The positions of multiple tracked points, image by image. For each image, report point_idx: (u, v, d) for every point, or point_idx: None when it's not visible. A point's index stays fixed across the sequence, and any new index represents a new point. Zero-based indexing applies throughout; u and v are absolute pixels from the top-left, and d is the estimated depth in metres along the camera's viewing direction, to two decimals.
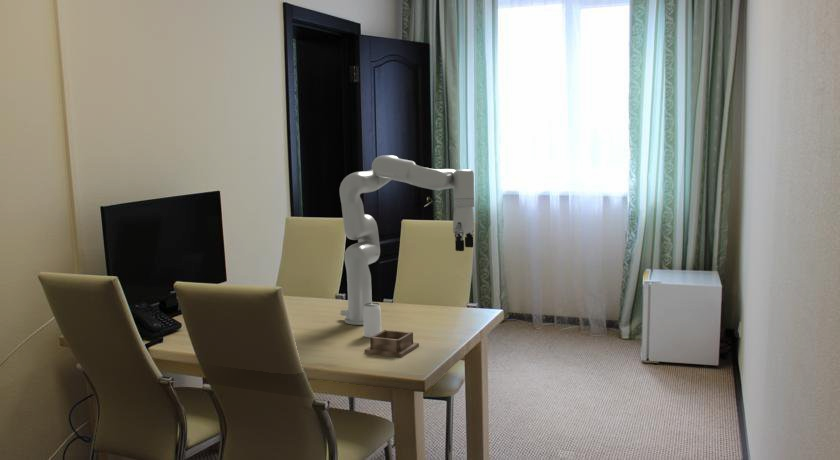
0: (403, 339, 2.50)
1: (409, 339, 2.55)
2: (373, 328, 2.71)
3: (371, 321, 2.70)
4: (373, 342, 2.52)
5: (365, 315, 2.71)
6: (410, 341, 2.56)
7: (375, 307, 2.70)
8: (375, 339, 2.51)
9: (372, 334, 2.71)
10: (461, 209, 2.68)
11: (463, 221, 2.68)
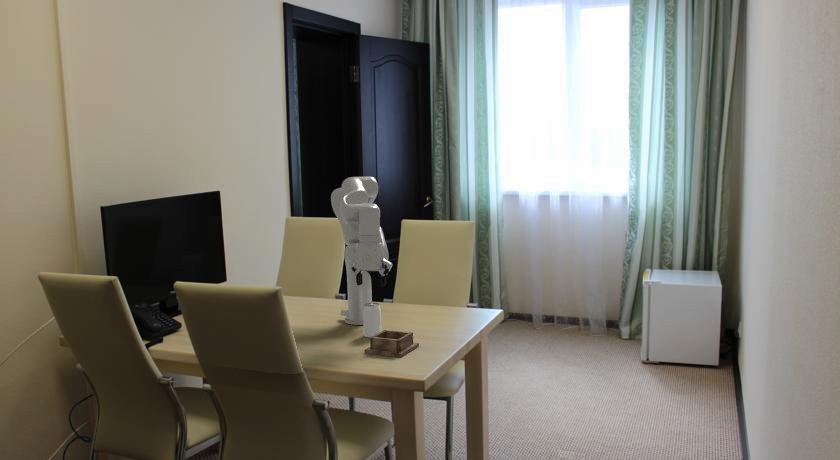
0: (403, 339, 2.50)
1: (409, 339, 2.55)
2: (373, 328, 2.71)
3: (371, 321, 2.70)
4: (373, 342, 2.52)
5: (365, 315, 2.71)
6: (410, 341, 2.56)
7: (375, 307, 2.70)
8: (375, 339, 2.51)
9: (372, 334, 2.71)
10: (381, 244, 2.69)
11: (384, 255, 2.70)
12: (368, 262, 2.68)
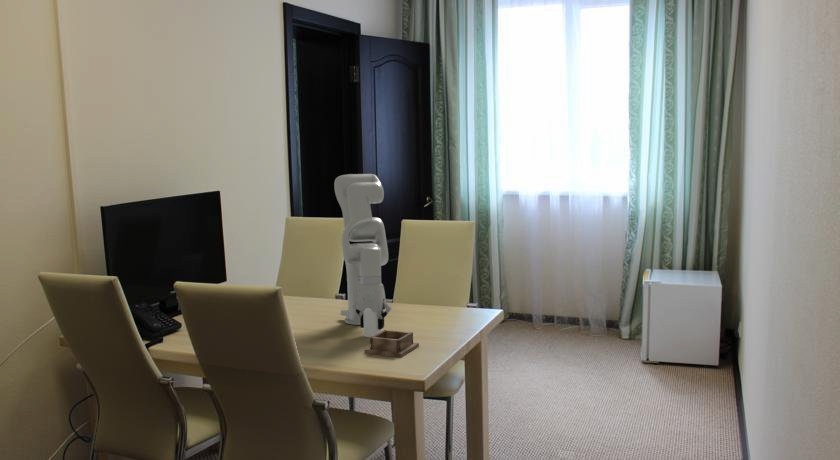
0: (403, 339, 2.50)
1: (409, 339, 2.55)
2: (373, 328, 2.70)
3: (371, 321, 2.70)
4: (373, 342, 2.52)
5: (365, 315, 2.71)
6: (410, 341, 2.56)
7: None
8: (375, 339, 2.51)
9: (372, 334, 2.71)
10: (382, 286, 2.71)
11: None
12: (369, 303, 2.70)
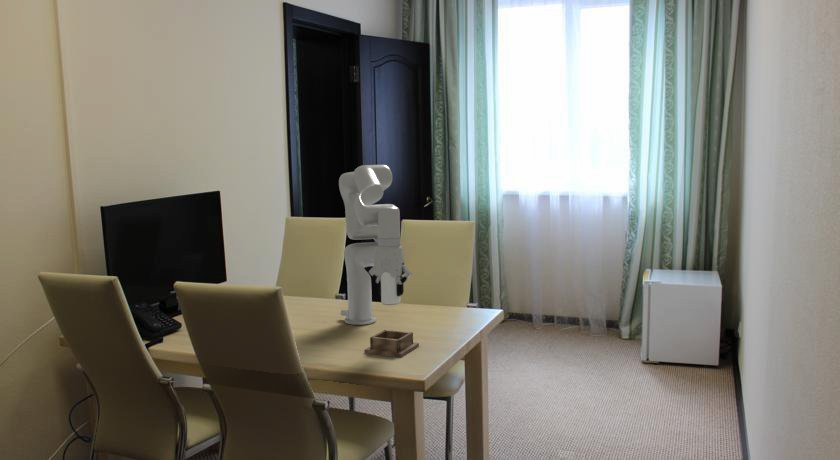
0: (403, 339, 2.50)
1: (409, 339, 2.55)
2: (392, 294, 2.50)
3: (389, 286, 2.49)
4: (373, 342, 2.52)
5: (383, 280, 2.50)
6: (410, 341, 2.56)
7: None
8: (375, 339, 2.51)
9: (390, 301, 2.50)
10: None
11: (404, 260, 2.51)
12: (388, 267, 2.49)
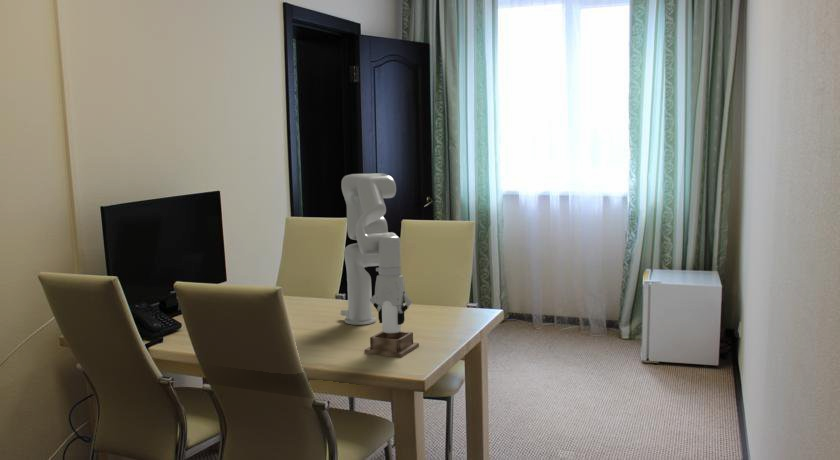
0: (403, 339, 2.50)
1: (409, 339, 2.55)
2: (393, 323, 2.51)
3: (390, 315, 2.50)
4: (373, 342, 2.52)
5: (384, 309, 2.51)
6: (410, 341, 2.56)
7: None
8: (375, 339, 2.51)
9: (391, 329, 2.51)
10: (402, 277, 2.51)
11: None
12: (389, 296, 2.50)
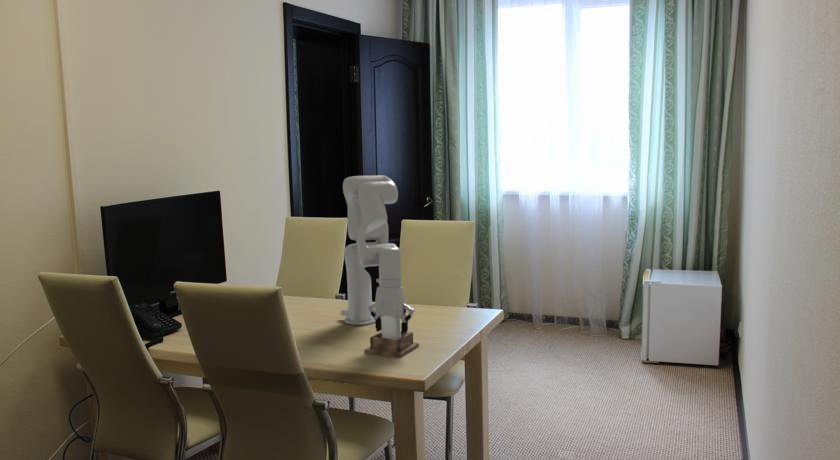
0: (403, 339, 2.50)
1: (409, 339, 2.55)
2: (393, 337, 2.52)
3: (390, 330, 2.51)
4: (373, 342, 2.52)
5: (384, 324, 2.52)
6: (410, 341, 2.56)
7: None
8: (375, 339, 2.51)
9: None
10: (403, 289, 2.52)
11: (405, 300, 2.53)
12: (389, 307, 2.51)
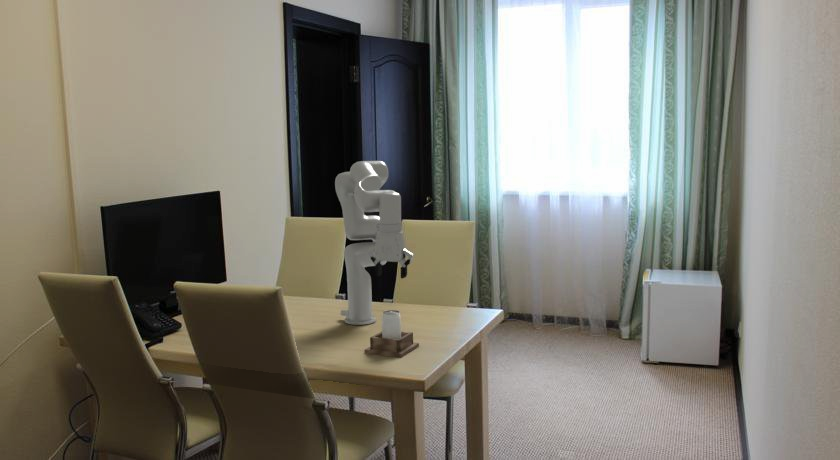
0: (403, 339, 2.50)
1: (409, 339, 2.55)
2: (393, 338, 2.52)
3: (390, 330, 2.51)
4: (373, 342, 2.52)
5: (384, 324, 2.52)
6: (410, 341, 2.56)
7: (395, 315, 2.52)
8: (375, 339, 2.51)
9: None
10: (402, 234, 2.55)
11: None
12: (388, 252, 2.54)
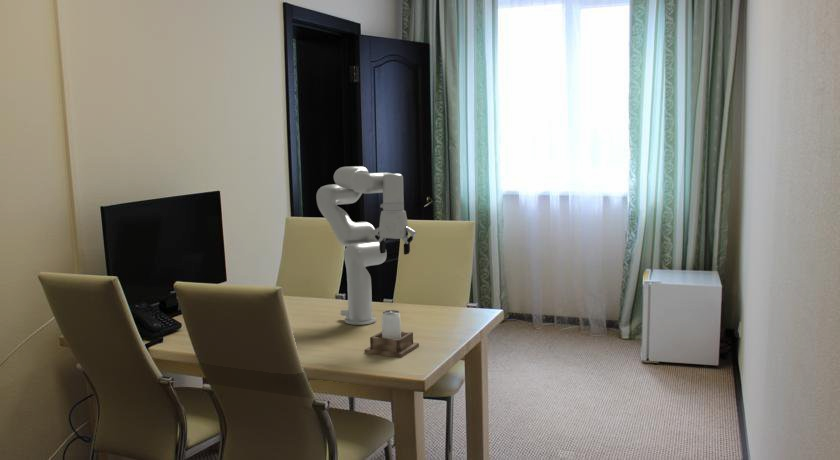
0: (403, 339, 2.50)
1: (409, 339, 2.55)
2: (393, 338, 2.52)
3: (390, 330, 2.51)
4: (373, 342, 2.52)
5: (384, 324, 2.52)
6: (410, 341, 2.56)
7: (395, 315, 2.52)
8: (375, 339, 2.51)
9: None
10: (405, 212, 2.70)
11: (407, 223, 2.71)
12: (392, 229, 2.69)
